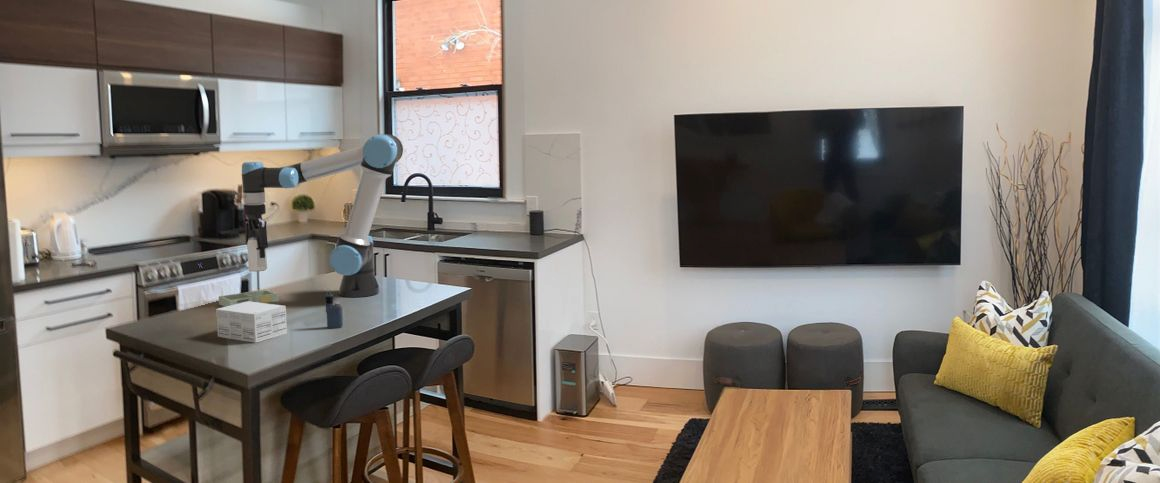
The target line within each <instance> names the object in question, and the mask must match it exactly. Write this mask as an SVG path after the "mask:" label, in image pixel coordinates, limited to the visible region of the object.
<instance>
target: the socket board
mask: <svg viewBox="0 0 1160 483" xmlns="http://www.w3.org/2000/svg"><path fill="white" fill-rule="evenodd" d="M247 301H251V302H258V303H266V304H271V303H275V302H279V293H278V292H275V291H271V290H269V289H265V288H264V289H260V290H253V291H246V292H239V293H233V294H226V295H219V296H218V305H220V306H221V307H226V306H231V305H235V304H239V303H243V302H247Z"/></svg>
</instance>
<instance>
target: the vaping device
mask: <svg viewBox="0 0 1160 483" xmlns="http://www.w3.org/2000/svg"><path fill="white" fill-rule="evenodd" d="M324 298H325V313H326V328H327V329H342V328H343V324H344V323H343V307H342V305H341V302H334V295H333V293H331V291H327V294H325V297H324Z"/></svg>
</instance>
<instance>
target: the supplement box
mask: <svg viewBox="0 0 1160 483" xmlns="http://www.w3.org/2000/svg"><path fill="white" fill-rule="evenodd" d="M286 308H287V307H286V305H281V304H273V303H258V302H251V301H247V302H243V303H239V304H235V305H231V306H226V307H224V306H221V307H218V308H216V309H215V313H216V330H217V337H218V338H223V339H224V338H225V339H229V340H230V339H231V340H234V341H235V340H237V341H243V342H247V343H248V342H249V343H255V344H256V343H259V342H262V341H266V340H269V339H273V338H276V337H279V336H283V335H286V334H288V325H287V309H286Z"/></svg>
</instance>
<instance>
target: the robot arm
mask: <svg viewBox="0 0 1160 483" xmlns="http://www.w3.org/2000/svg"><path fill="white" fill-rule="evenodd" d="M403 153H404V147H403V143H402V142H401V140H400V139H399V138H398V137H397V136H395V135H393V134H390V133H386V134H382V133H380V134H375V135H372V136H371V137H369V138H368V139H367V140H366V141H365V143H364V145H361V146H359V147H354V148H351V149H350V148H349V149H347V150H343V151H339V152H336V153H332V154H328V155H325V156H321V157H317V158H313V159H309V160H307V161H302V162H299V163H295V164H289V165H287V166H286V165H284V166H281V167H280V166H279V167H265V166H264V163H263V162H262V161H245V162H243V163H242V164H241V174H240V175H241V182H242V183H241V185H242V196H241V197H242V198H243V200H242V201H243V214H244V215H245V216H248V217H247V218H244V229H245V233H244V234H245V235H244V237H245V245H247V242H248V239H249V238H255V237H256V240H257V245H258V248H256V250H257V261H258V267H262V266H266V260H265V249H266V250H267V249H268V248H269V244H268V231H267V221H265V220H263V217H262V216H263V215H265V214H266V213H267V212H266V210H267V208H266V204H265V203H266V191H265V189H268V188H269V189H271V188H273V189H294V188H296V187H297V186H298V185H300V184H303V183H307V182H310V181H314V180H318V179H321V178H325V177H330V176H332V175H336V174H340V173H343V172H349V171H351V170H355V169H359V168H361V169H362V175H361V178H360V182H359V185H358V187H357V191H356V194H355V198H354V200H353V202H352V203H353V204H352V207H351V210H350V214H349V217H348V219H347V223H346V226H345V229H344V232H341V233H340V234H339V235H338V238H337V241H336V245H335V247H334V248H333V249H332V250H331V252H330V255H329V263H330V266H331V268H332V270H333V271H334V272H336V273H337V274H339V275H341V276H342V279H341V282H340V285H339V289H338V290H339V296H342V297H348V298H362V297H363V298H364V297H365V298H366V297H370V296H375V295H378V294H379V293H380V287H379V286H380V285H379V283H378V281H377V277H376V275H375V269H374V268H375V267H374V266H375V265H374V264H375V263H374V241H373V240H374V239H373V237H372V235H369V234H370V231H371V229H372V225H373V221H374V219H375V217H376V216H375V215H376V214H377V213H376V212H377V209H378V206H379V204H380V203H379V202H380V199H381V196H382V192H383V191H384V190H383V189H384V186H385V184H386V180H387V179H388V178H389V177H391V176H392V175H393V172H394V169H395V166H396V163H398V162H399V161H400V159H401V158H402V157H403Z"/></svg>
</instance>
